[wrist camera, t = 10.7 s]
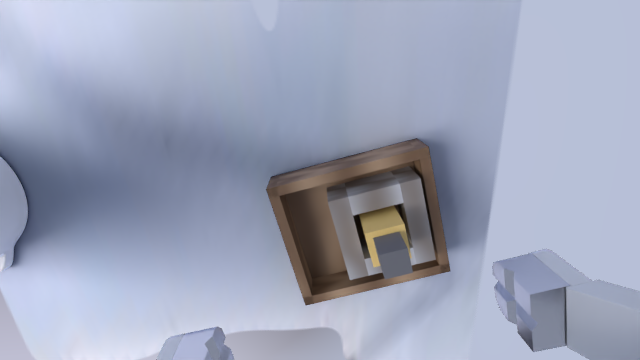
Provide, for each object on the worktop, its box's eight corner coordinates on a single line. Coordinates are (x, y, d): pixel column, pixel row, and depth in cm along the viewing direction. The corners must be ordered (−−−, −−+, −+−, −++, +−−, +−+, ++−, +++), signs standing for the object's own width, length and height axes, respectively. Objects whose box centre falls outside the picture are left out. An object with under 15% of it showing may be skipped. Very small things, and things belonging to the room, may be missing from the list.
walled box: (306, 283, 41) (305, 311, 37) (271, 176, 37) (264, 192, 32) (437, 252, 40) (453, 276, 36) (416, 138, 36) (432, 149, 31)
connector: (363, 232, 38) (379, 287, 29) (356, 204, 37) (370, 250, 28) (394, 225, 38) (421, 277, 29) (388, 195, 37) (413, 239, 28)
